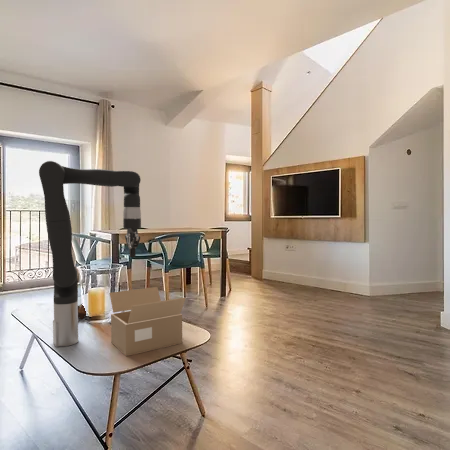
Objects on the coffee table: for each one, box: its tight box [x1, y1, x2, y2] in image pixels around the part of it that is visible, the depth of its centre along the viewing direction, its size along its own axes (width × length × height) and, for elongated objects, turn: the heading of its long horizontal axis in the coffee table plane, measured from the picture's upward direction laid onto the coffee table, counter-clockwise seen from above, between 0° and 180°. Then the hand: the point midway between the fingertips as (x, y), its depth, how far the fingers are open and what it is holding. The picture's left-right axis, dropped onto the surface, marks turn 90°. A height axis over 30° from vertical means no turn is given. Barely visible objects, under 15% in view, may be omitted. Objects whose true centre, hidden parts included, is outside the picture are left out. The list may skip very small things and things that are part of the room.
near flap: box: [128, 297, 186, 323], centre depth 139 cm, size 22×9×1 cm
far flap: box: [109, 286, 162, 313], centre depth 158 cm, size 22×9×1 cm
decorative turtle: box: [78, 303, 87, 320], centre depth 186 cm, size 10×15×8 cm, turn 135°
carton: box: [110, 310, 183, 357], centre depth 148 cm, size 24×18×12 cm
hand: (132, 257), depth 156 cm, fingers closed
